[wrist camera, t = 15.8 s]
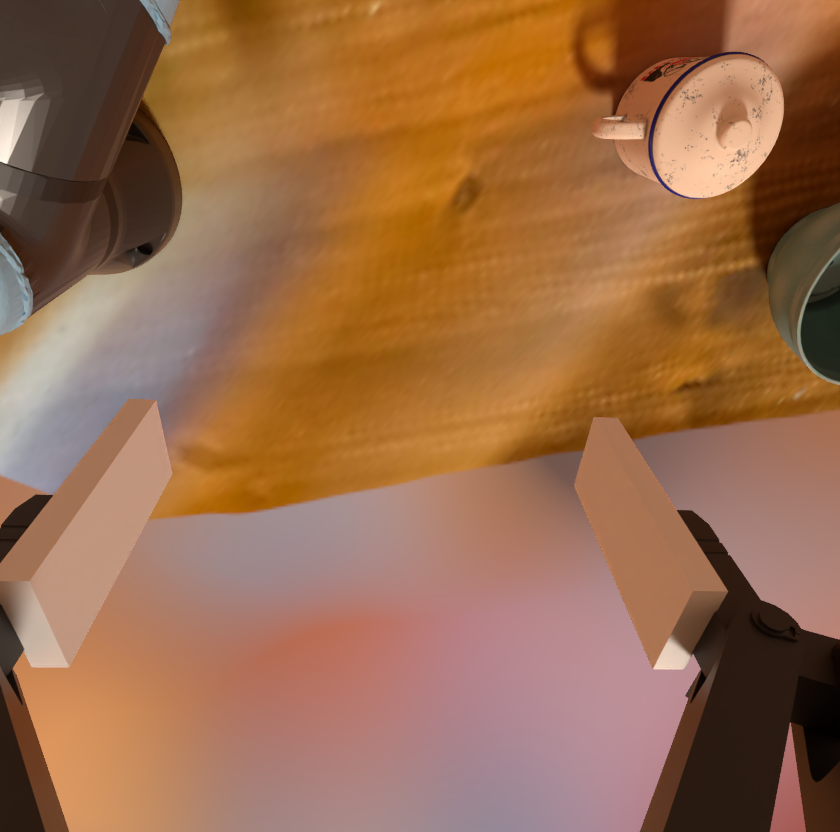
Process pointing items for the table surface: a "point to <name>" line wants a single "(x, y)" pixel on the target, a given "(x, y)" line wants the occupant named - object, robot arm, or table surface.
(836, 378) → the flower pot
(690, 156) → the teacup with lid
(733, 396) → the table surface
